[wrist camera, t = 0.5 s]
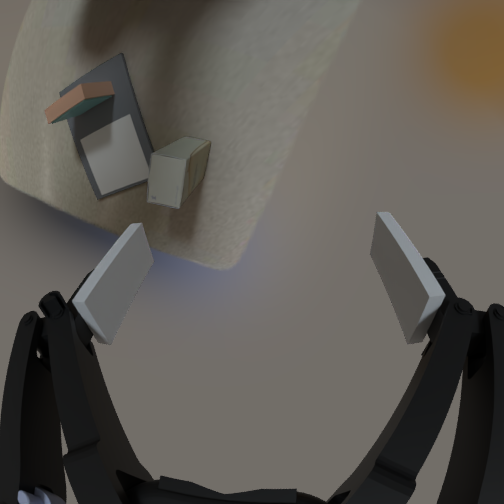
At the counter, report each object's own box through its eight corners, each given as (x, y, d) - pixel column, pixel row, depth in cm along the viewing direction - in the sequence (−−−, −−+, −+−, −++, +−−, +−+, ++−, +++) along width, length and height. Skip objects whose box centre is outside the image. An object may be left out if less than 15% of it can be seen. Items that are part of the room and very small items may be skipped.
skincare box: (204, 178, 40) (180, 212, 30) (177, 172, 40) (145, 203, 30) (211, 139, 37) (188, 159, 27) (183, 134, 37) (150, 152, 26)
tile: (75, 102, 32) (44, 110, 26) (111, 81, 31) (80, 83, 24) (79, 115, 34) (48, 125, 27) (115, 95, 32) (85, 100, 26)
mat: (61, 92, 32) (59, 92, 31) (122, 53, 29) (120, 53, 28) (99, 198, 43) (97, 199, 43) (162, 175, 40) (160, 177, 40)
